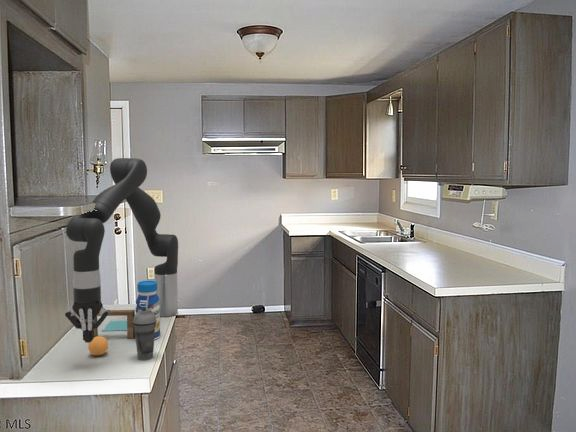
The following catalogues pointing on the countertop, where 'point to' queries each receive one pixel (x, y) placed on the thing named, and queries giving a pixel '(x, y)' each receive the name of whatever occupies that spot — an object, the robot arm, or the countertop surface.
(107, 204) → the robot arm
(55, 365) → the countertop surface
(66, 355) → the countertop surface
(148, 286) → the beverage bottle
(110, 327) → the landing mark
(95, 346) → the ball
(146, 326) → the beverage cup
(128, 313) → the bridge
